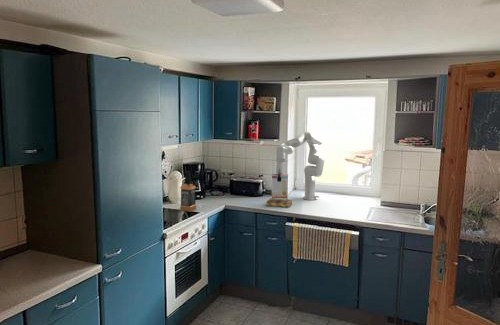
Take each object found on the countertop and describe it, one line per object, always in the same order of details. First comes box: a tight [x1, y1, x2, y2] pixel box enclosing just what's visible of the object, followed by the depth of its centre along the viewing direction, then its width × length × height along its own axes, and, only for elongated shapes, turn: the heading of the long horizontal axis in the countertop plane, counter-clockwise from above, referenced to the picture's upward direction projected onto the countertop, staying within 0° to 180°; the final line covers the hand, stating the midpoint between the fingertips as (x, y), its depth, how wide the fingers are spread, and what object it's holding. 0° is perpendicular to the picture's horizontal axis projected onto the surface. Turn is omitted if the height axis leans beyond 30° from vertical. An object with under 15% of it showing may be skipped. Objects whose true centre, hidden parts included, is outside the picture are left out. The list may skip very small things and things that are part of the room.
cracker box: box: [271, 173, 289, 199], centre depth 324 cm, size 14×6×21 cm, turn 84°
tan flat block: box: [266, 197, 293, 209], centre depth 325 cm, size 20×14×4 cm
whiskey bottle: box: [179, 170, 197, 213], centre depth 303 cm, size 10×10×32 cm
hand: (280, 180), depth 323 cm, fingers closed on cracker box, 6 cm apart
